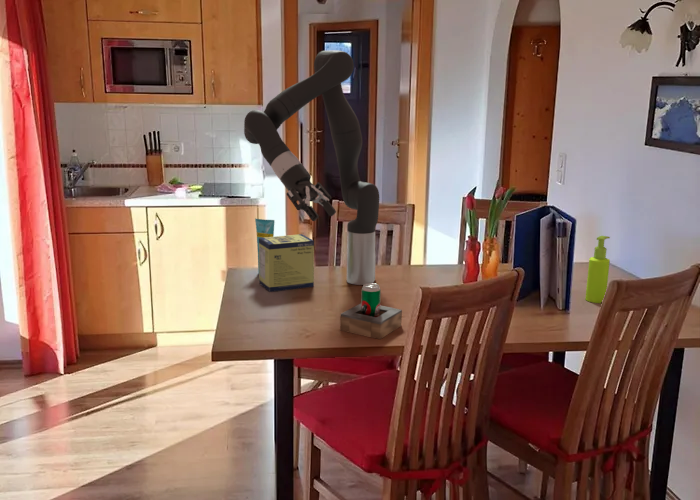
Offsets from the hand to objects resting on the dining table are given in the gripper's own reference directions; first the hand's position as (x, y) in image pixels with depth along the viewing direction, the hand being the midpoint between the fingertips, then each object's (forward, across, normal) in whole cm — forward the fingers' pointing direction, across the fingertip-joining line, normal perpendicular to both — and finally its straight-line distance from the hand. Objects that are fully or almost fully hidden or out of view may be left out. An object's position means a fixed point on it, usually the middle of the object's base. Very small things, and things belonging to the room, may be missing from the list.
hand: (325, 216), depth 186 cm
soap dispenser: (+64, +59, -23) cm, 90 cm away
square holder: (+31, -1, +9) cm, 33 cm away
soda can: (+31, -1, +10) cm, 33 cm away
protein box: (+1, +19, +40) cm, 44 cm away
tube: (-9, +26, +50) cm, 57 cm away
